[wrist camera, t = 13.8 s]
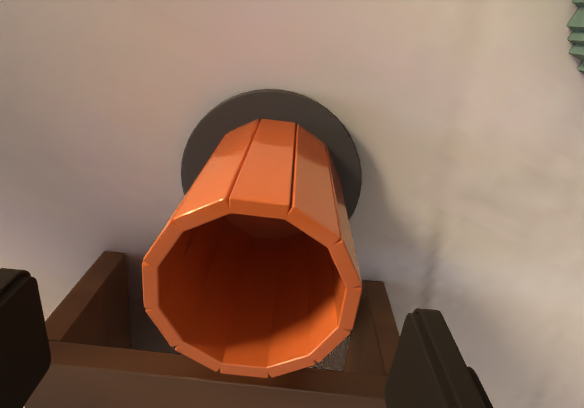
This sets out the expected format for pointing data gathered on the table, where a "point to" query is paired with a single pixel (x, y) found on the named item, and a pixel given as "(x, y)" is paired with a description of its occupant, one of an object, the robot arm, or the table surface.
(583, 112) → the table surface
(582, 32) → the can
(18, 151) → the table surface
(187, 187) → the coaster
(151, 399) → the shelf
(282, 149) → the cup
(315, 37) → the table surface
